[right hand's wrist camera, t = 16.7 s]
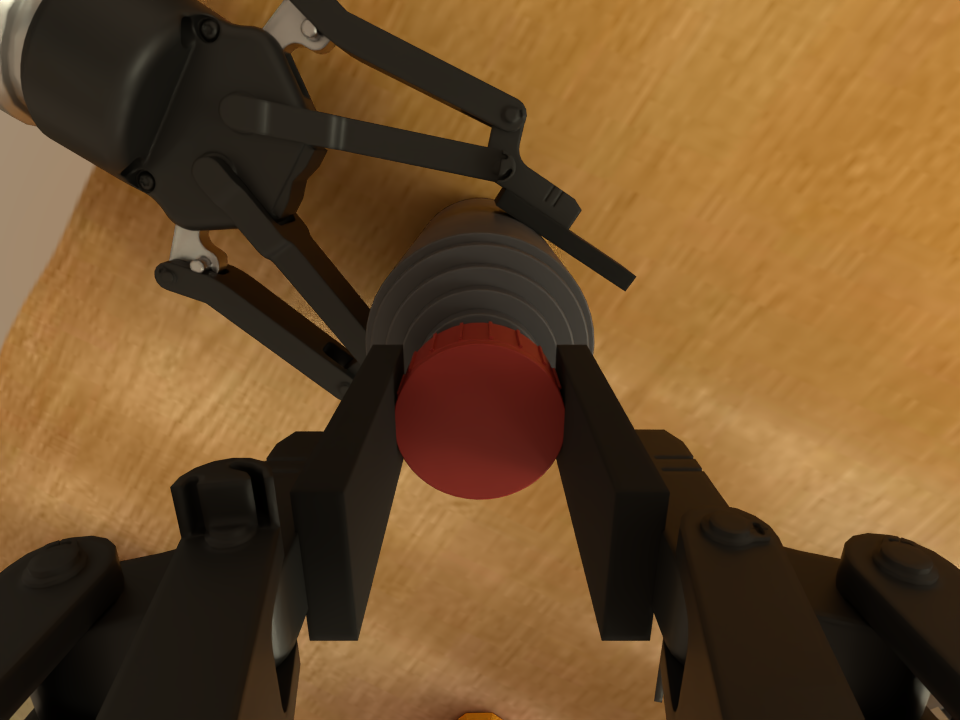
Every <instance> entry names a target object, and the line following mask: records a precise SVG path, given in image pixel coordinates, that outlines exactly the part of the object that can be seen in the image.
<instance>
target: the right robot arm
mask: <svg viewBox="0 0 960 720" xmlns="http://www.w3.org/2000/svg"><path fill="white" fill-rule="evenodd" d="M555 370H556V373H557V376H558V379H559V381H560V384H561V387H562V389H560V392H561V395H562V398H563V402H564V406H565V416H564V434H563V444H562V447H561V450H560V452H559V454H558V456H557V458H556V460H557V464H558V468H559V472H560V476H561V480H562V484H563V488H564V492H565V496H566V500H567V504H568V508H569V512H570V516H571V520H572V524H573V528H574V532H575V536H576V540H577V544H578V548H579V552H580V556H581V560H582V564H583V568H584V572H585V576H586V580H587V584H588V588H589V592H590V596H591V600H592V604H593V608H594V611H595V615H596V619H597V623H598V627H599V631H600V635H601V639H602V641H650V636H651V629H652V621H653V614H655V617H656V620H657V622H658V625H659V628H660V630H661V633H662V635H663V643H662V650H661V657H660V664H659V671H658V677H657V684H656V691H655V699H654V701H656V702H661V703H662V698H663V695H664V703H665V711H666V719H667V720H960V570H959V569H958V568H957V567H956V566H955V565H953V564H952V563H950V562H949V561H947V560H946V559H944V558H943V557H941V556H940V555H938V554H937V553H935V552H934V551H932V550H930V549H927V548H925V547H923V546H921V545H918V544H916V543H915V542H913V541H910V540H907V539H904V538H898V537H897V536H892V535H884V534H872V533H866V534H861V535H855V536H852V537H851V538H850V539H849V540H848V541H847V542H845V544H844V548H843V552H842V556H841V559H838V558H833V557H828V556H823V555H818V554H813V553H808V552H803V551H798V550H795V549H791V548H787V547H783V545H782V543H781V541H780V539H779V537H778V536H777V535H776V533H775V532H774V531H773V529H772V528H771V527H770V526H769V525H768V524H766V523H765V522H763V521H762V520H760V519H759V518H758V517H756V516H754V515H752V514H749V513H747V512H745V511H742V510H740V509H737V508H732V507H729V506H728V505H727V503H726V502H725V500H724V499H723V497H722V496H721V495H720V493H719V492H718V490H717V489H716V488H715V486H714V485H713V483H712V482H711V481H710V479H709V478H708V476H707V475H706V473H705V472H704V471H702V468H701V466H700V465H699V464H698V462H697V461H696V459H693V455H692V454H691V452H690V451H689V450H688V448H687V447H686V445H685V444H684V442H682V441H681V440H679V439H678V438H676V437H675V436H673V435H672V434H670V433H669V432H667V431H665V430H635V429H634V428H633V426H632V424H631V422H630V420H629V419H628V417H627V415H626V413H625V412H624V410H623V408H622V406H621V405H620V403H619V401H618V399H617V397H616V396H615V394H614V392H613V390H612V389H611V387H610V385H609V383H608V381H607V380H606V378H605V376H604V374H603V373H602V371H601V369H600V367H599V366H598V364H597V362H596V360H595V358H594V357H593V355H592V353H591V351H590V350H589V348H588V346H587V345H556V365H555ZM403 374H404V375H405V372H404V352H403V345H372V347H371V349H370V351H369V352H368V354H367V356H366V358H365V360H364V361H363V363H362V365H361V367H360V368H359V370H358V372H357V374H356V375H355V377H354V379H353V381H352V383H351V384H350V386H349V388H348V390H347V391H346V393H345V395H344V397H343V399H342V400H341V402H340V404H339V406H338V407H337V409H336V411H335V413H334V414H333V416H332V418H331V420H330V422H329V423H328V425H327V427H326V429H325V430H324V431H296V432H294V433H293V434H291V435H290V436H288V437H286V438H285V439H283V440H282V441H280V442H279V443H277V444H276V446H275V447H274V448H273V450H272V451H271V453H270V454H269V456H268V457H267V461H260V460H256V459H252V458H230V459H224V460H219V461H213V462H210V463H208V464H205V465H202V466H199V467H196V468H194V469H192V470H191V471H189V472H187V473H186V474H184V475H182V476H181V477H179V478H178V479H177V481H176V482H175V483H174V484H173V485H172V486H171V487H170V488H171V493H172V497H173V502H174V506H175V511H176V515H177V520H178V525H179V529H180V534H181V540H180V542H179V544H178V546H177V548H176V549H175V550H171V551H167V552H163V553H159V554H154V555H149V556H144V557H140V558H135V559H130V560H125V561H119V557H118V554H117V550H116V546H115V545H114V544H113V543H112V542H111V541H109V540H108V539H107V538H101V537H96V536H84V537H73V538H67V539H62V541H59V540H58V541H55V542H52V543H49V544H47V545H45V546H44V547H41V548H39V549H37V550H35V551H32V552H30V553H28V554H26V555H25V556H23V557H22V558H20V559H19V560H17V561H16V562H14V563H13V564H11V565H10V566H8V567H7V568H6V569H4V570H3V571H2V572H1V573H0V720H9V719H10V718H11V717H12V716H13V715H14V714H15V713H16V711H17V710H18V709H19V708H20V707H21V706H22V705H23V703H24V702H25V701H26V700H27V699H28V698H29V697H30V698H31V700H32V703H33V706H34V709H33V710H32V711H31V712H30V713H29V714H28V716H27V717H26V718H25V719H24V720H294V712H295V704H296V696H297V688H298V680H299V671H300V658H299V650H298V643H297V637H298V635H299V632H300V630H301V627H302V624H303V622H304V619H305V616H306V617H307V624H308V631H309V639H310V641H358V638H359V634H360V630H361V626H362V622H363V618H364V614H365V610H366V606H367V602H368V598H369V594H370V590H371V586H372V582H373V578H374V574H375V570H376V566H377V562H378V558H379V554H380V550H381V546H382V542H383V538H384V534H385V530H386V526H387V522H388V518H389V514H390V510H391V506H392V502H393V498H394V495H395V491H396V487H397V483H398V479H399V475H400V471H401V467H402V463H403V459H404V458H403V456H402V454H401V453H400V450H399V448H398V445H397V439H396V422H395V404H396V400H397V391H398V388H399V385H400V383H401V380H402V377H403Z"/></svg>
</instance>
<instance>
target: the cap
mask: <svg viewBox="0 0 960 720" xmlns="http://www.w3.org/2000/svg"><path fill="white" fill-rule="evenodd" d="M560 389H562V387H561V384H560V381H559V379H558V376H557V373H556V370H555V368H552V367H551V365H550V363H549V361H548V359H547V358H546V356H545V355H544V353H543V350H542V347H541V346H540V345H539V346H537V345H536V344H535V343H533V342H532V341H531V340H530V339H528V338H527V337H526V336H524V335H523V334H521V333H520V330H518V329H516V331H515V330H513V329H510V328H508V327H505V326H501V325H497V324H492V322H491V321H489V323H468V324H463V322H462V323H460V325H458V326H455V327H452V328H449V329H447V330H445V331H442V332H441V333H439V334H437V333H435V334H433V337H432V338H431V339H430V340H429V341H427V342H426V343H425V344H424V345H423V346H422V347H421V348H420V349H419V350H418V352H416V351H415V352H414V353H413V356H412V359H411V362H410V364H409V366H408V369H407V371H406V374H405V375H404V374H403V377H402V380H401V383H400V385H399V388H398V391H397V400H396V404H395V422H396V439H397V445H398V448H399V450H400V453H401V454H402V456H403V458H404V460H405V461H406V463H407V464H408V465H409V467H410V468H411V469H412V470H413V471H414V472H415V473H416V474H417V476H418V477H420V478H421V479H422V480H423V481H425V482H426V483H427V484H429V485H431V486H432V487H434V488H435V489H438V490H440V491H442V492H444V493H447V494H450V495H453V496H456V497H461V498H466V499H476V500H478V499H493V498H499V497H503V496H507V495H510V494H513V493H516V492H518V491H520V490H522V489H524V488H526V487H528V486H529V485H531V484H532V483H534V482H535V481H536V480H538V479H539V478H540V477H541V476H542V475H543V474H544V473H545V472H546V471H547V470H548V469H549V468H550V467H551V465H552V464H553V462H554V461H555V459H556V458H557V456H558V454H559V452H560V450H561V447H562V444H563V434H564V416H565V406H564V402H563V398H562V395H561V392H560Z"/></svg>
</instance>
